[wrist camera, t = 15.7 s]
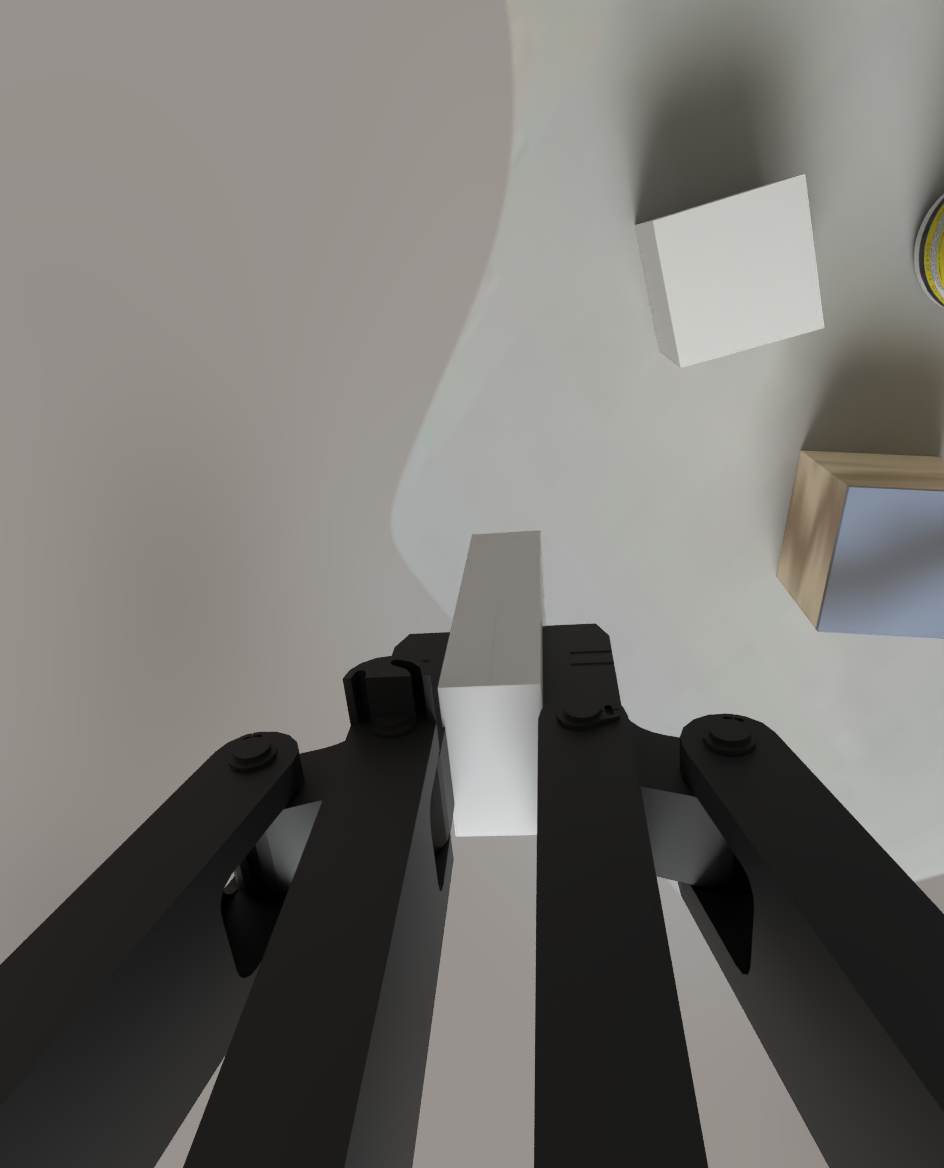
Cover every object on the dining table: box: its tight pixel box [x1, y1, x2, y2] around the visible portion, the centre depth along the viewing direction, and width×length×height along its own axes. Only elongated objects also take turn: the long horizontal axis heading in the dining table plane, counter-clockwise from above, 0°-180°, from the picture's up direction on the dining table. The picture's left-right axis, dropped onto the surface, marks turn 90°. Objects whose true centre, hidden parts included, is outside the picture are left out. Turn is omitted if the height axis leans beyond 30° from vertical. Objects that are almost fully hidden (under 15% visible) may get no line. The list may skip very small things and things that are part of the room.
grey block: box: [635, 174, 824, 368], centre depth 36 cm, size 6×6×6 cm
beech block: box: [776, 450, 944, 639], centre depth 39 cm, size 7×7×7 cm
